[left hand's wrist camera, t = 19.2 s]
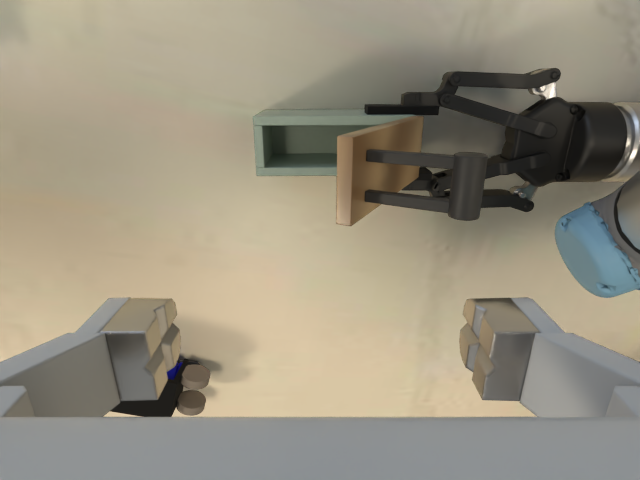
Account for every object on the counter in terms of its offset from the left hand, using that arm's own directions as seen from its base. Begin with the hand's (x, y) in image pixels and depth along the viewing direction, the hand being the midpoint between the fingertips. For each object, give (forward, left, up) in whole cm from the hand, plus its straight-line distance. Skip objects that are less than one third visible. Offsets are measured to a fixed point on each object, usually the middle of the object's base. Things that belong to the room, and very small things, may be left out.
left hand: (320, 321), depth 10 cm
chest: (+1, -1, -38) cm, 38 cm away
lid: (+2, -4, -22) cm, 23 cm away
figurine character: (-38, +3, -38) cm, 54 cm away
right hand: (+2, -4, -32) cm, 32 cm away
